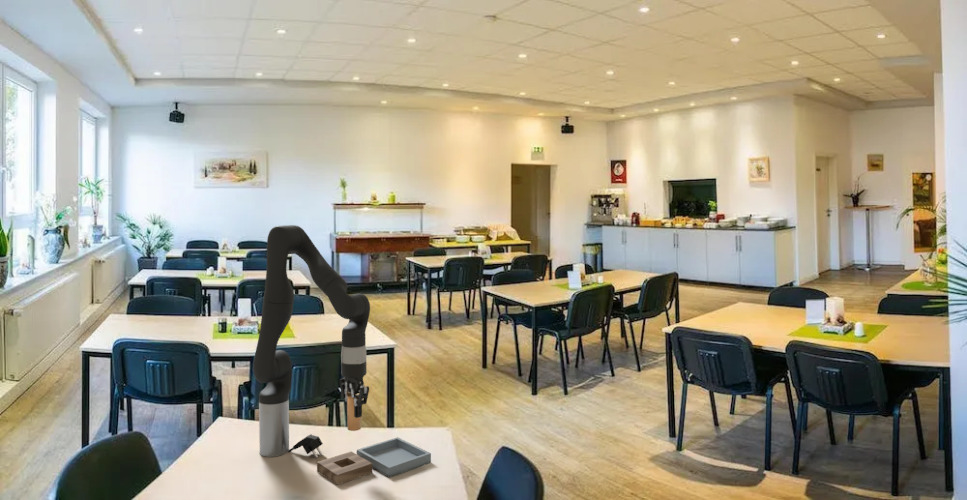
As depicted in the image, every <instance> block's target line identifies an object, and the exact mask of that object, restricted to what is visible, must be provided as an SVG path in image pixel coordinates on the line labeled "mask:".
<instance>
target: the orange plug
mask: <svg viewBox="0 0 967 500" xmlns="http://www.w3.org/2000/svg"><path fill="white" fill-rule="evenodd" d="M355 395H357V394H355ZM357 401H358V398H357ZM354 406H355V405H354V399H353V398H352V395H349V396H348V397H347V402H346V414H347V417H346V418H347V420H346V421H347V422H346V423H347V430H348V431H351V432H356V431H360V430H361V429H362V425H361V424H362V416H361V417H358V418H356V417H354Z"/></svg>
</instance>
